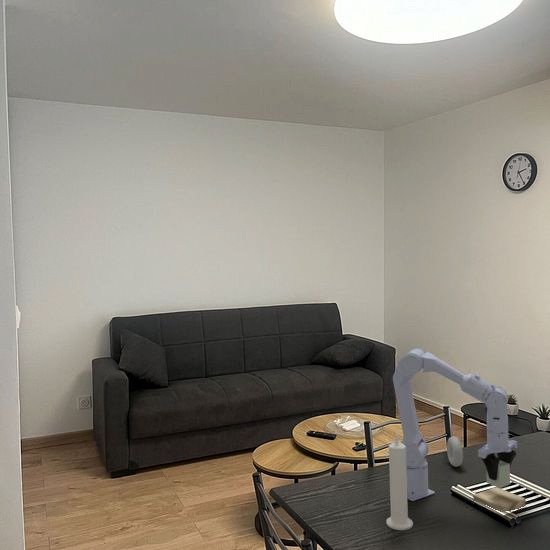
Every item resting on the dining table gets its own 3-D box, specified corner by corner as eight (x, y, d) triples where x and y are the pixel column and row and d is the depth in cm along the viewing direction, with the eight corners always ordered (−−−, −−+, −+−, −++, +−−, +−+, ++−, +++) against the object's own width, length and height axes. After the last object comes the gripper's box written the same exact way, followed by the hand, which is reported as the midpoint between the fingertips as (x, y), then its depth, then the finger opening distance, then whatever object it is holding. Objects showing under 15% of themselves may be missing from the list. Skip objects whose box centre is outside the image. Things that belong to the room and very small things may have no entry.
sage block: (499, 488, 162) (499, 467, 161) (486, 482, 165) (486, 462, 165) (510, 484, 164) (509, 463, 164) (496, 479, 168) (496, 459, 168)
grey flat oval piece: (464, 471, 190) (464, 441, 190) (454, 471, 191) (453, 442, 190) (455, 460, 200) (455, 432, 200) (446, 460, 201) (445, 432, 200)
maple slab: (502, 518, 158) (502, 507, 158) (473, 505, 167) (473, 495, 167) (525, 508, 163) (525, 498, 163) (496, 496, 172) (496, 486, 172)
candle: (394, 515, 161) (391, 428, 160) (417, 522, 156) (414, 432, 155) (381, 525, 156) (378, 435, 154) (405, 533, 151) (402, 440, 150)
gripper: (492, 439, 157) (493, 487, 157) (525, 429, 164) (526, 475, 165) (471, 432, 163) (472, 479, 163) (505, 423, 170) (506, 468, 171)
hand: (498, 477), depth 164 cm, fingers closed on sage block, 4 cm apart
